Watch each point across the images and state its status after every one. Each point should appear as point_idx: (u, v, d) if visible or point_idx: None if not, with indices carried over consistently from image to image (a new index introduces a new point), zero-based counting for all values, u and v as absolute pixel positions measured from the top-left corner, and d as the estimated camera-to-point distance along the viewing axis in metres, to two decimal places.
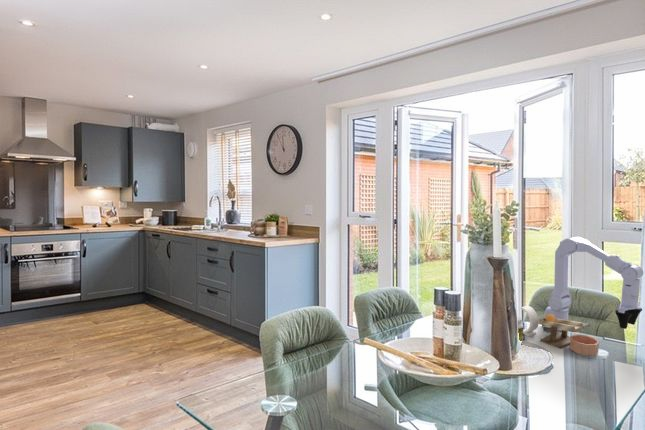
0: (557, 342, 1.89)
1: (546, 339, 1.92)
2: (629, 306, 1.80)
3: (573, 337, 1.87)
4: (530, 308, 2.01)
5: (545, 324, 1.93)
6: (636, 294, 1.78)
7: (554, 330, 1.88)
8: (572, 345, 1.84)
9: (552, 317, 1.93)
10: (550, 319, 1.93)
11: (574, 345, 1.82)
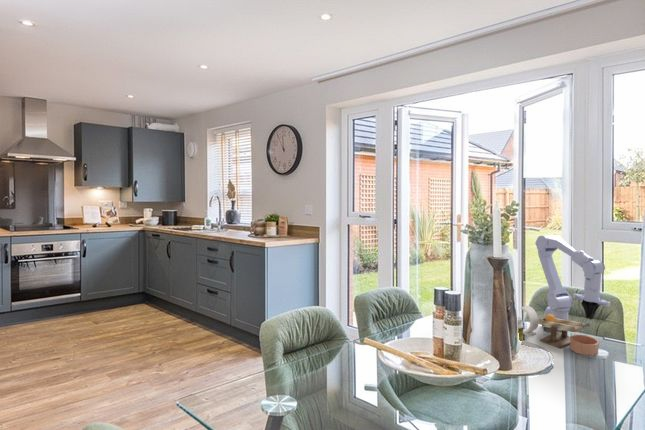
0: (557, 342, 1.89)
1: (546, 339, 1.92)
2: (583, 296, 1.92)
3: (573, 337, 1.87)
4: (530, 308, 2.01)
5: (545, 324, 1.93)
6: (595, 288, 1.87)
7: (554, 330, 1.88)
8: (572, 345, 1.84)
9: (552, 317, 1.93)
10: (550, 319, 1.93)
11: (574, 345, 1.82)
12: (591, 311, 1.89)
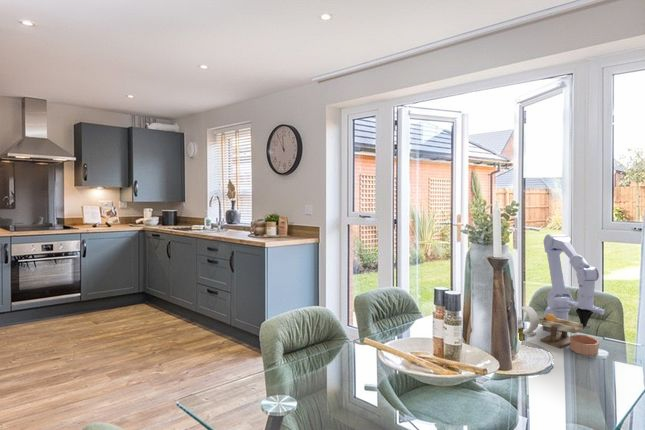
0: (557, 342, 1.89)
1: (546, 339, 1.92)
2: (577, 303, 1.89)
3: (573, 337, 1.87)
4: (530, 308, 2.01)
5: (545, 323, 1.93)
6: (587, 295, 1.85)
7: (554, 330, 1.88)
8: (572, 345, 1.84)
9: (552, 317, 1.93)
10: (550, 319, 1.93)
11: (574, 345, 1.82)
12: (584, 318, 1.87)
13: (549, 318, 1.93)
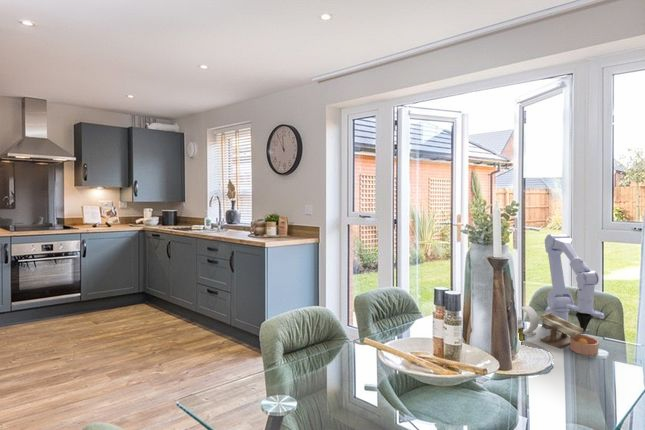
0: (557, 342, 1.89)
1: (546, 339, 1.92)
2: (577, 307, 1.90)
3: None
4: (530, 308, 2.00)
5: (546, 321, 1.93)
6: (587, 299, 1.85)
7: (554, 330, 1.88)
8: (572, 345, 1.84)
9: None
10: None
11: (574, 345, 1.82)
12: (584, 322, 1.87)
13: None
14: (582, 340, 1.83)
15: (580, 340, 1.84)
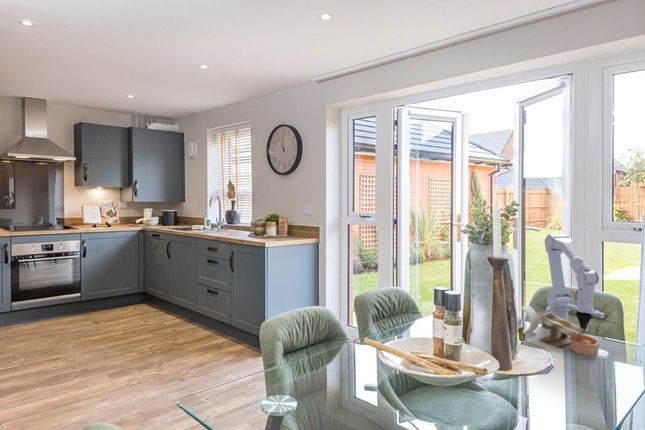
0: (557, 342, 1.89)
1: (546, 339, 1.92)
2: (577, 307, 1.90)
3: None
4: (530, 308, 2.01)
5: (546, 321, 1.93)
6: (587, 298, 1.85)
7: (554, 330, 1.88)
8: (572, 345, 1.84)
9: None
10: None
11: (574, 345, 1.82)
12: (584, 322, 1.87)
13: None
14: None
15: (586, 343, 1.82)
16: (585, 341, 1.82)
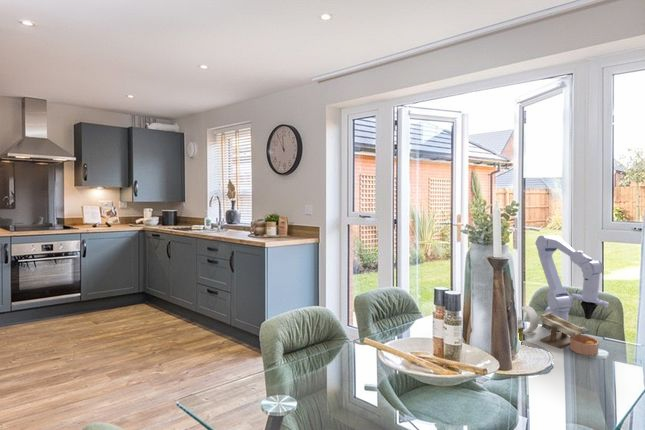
0: (557, 342, 1.89)
1: (546, 339, 1.92)
2: (582, 296, 1.92)
3: None
4: (530, 308, 2.01)
5: (546, 321, 1.93)
6: (594, 288, 1.87)
7: (554, 330, 1.88)
8: (572, 345, 1.84)
9: None
10: None
11: (574, 345, 1.82)
12: (589, 311, 1.90)
13: None
14: None
15: None
16: None
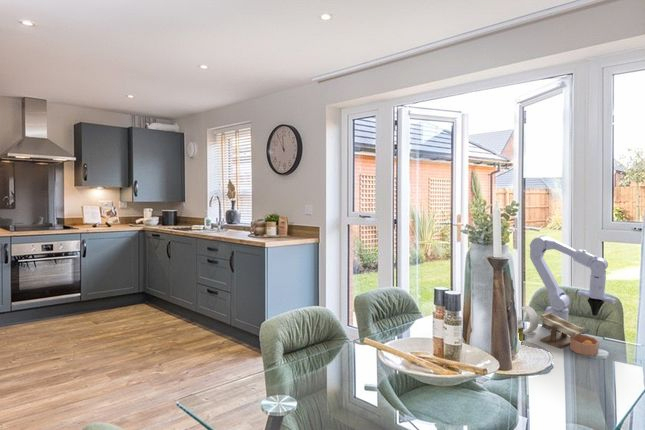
0: (557, 342, 1.89)
1: (546, 339, 1.92)
2: (588, 293, 1.97)
3: None
4: (530, 308, 2.01)
5: (546, 321, 1.93)
6: (603, 285, 1.92)
7: (554, 330, 1.88)
8: (572, 345, 1.84)
9: None
10: None
11: (574, 345, 1.82)
12: (596, 308, 1.94)
13: None
14: None
15: None
16: (589, 343, 1.81)
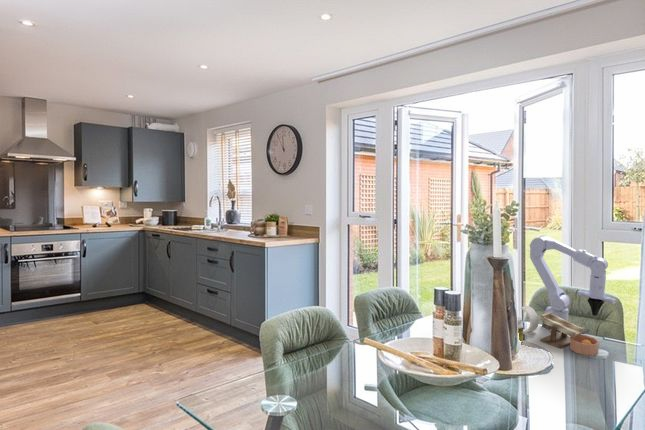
0: (557, 342, 1.89)
1: (546, 339, 1.92)
2: (588, 293, 1.97)
3: None
4: (530, 308, 2.01)
5: (546, 321, 1.93)
6: (603, 285, 1.92)
7: (554, 330, 1.88)
8: (572, 345, 1.84)
9: None
10: None
11: (574, 345, 1.82)
12: (596, 308, 1.94)
13: None
14: None
15: (587, 343, 1.81)
16: (586, 341, 1.82)
